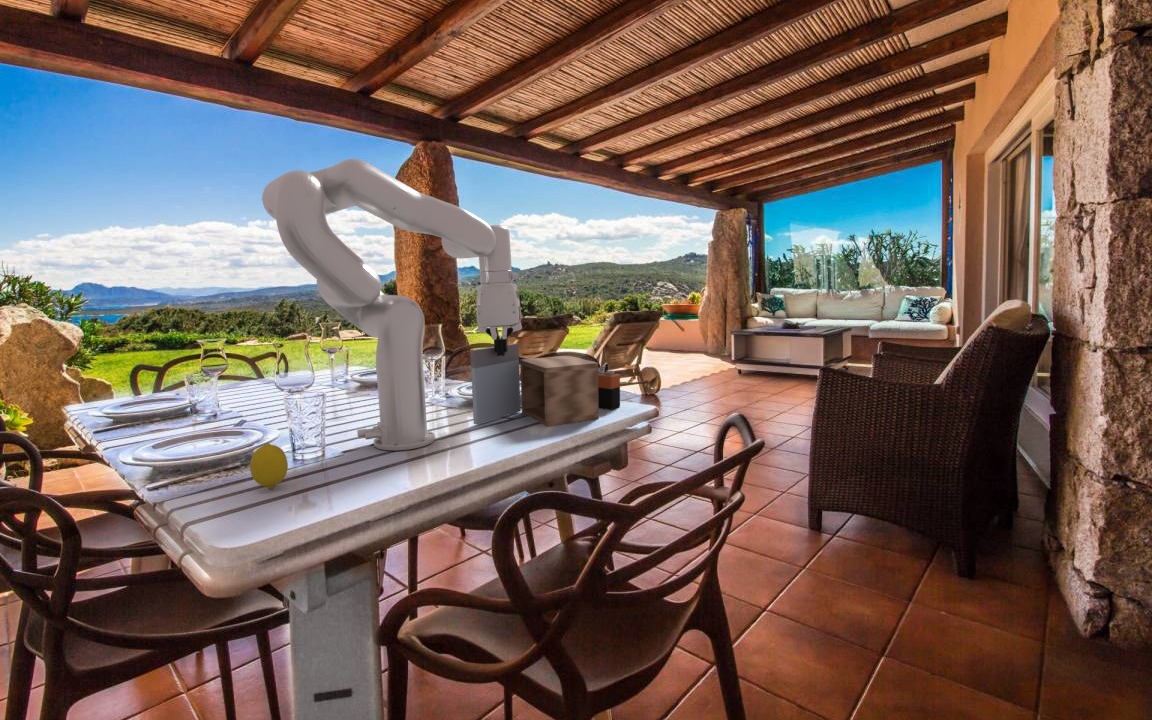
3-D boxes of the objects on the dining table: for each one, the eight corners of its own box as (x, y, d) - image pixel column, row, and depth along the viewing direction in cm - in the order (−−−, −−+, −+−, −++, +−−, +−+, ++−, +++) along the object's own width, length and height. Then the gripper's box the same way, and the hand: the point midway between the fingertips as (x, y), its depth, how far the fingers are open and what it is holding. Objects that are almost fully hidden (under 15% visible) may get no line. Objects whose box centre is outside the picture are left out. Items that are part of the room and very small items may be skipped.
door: (473, 423, 132) (470, 350, 129) (517, 410, 145) (514, 343, 142) (477, 424, 131) (474, 350, 129) (520, 411, 144) (518, 343, 141)
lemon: (250, 497, 90) (245, 450, 89) (255, 485, 95) (250, 441, 94) (288, 491, 92) (284, 445, 91) (290, 480, 97) (286, 436, 96)
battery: (611, 410, 145) (611, 372, 143) (591, 406, 149) (590, 370, 148) (620, 407, 148) (620, 370, 147) (600, 403, 152) (600, 368, 151)
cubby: (547, 426, 130) (545, 368, 128) (521, 412, 144) (520, 359, 142) (598, 418, 136) (597, 362, 134) (569, 406, 150) (568, 355, 148)
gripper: (529, 277, 134) (534, 351, 137) (469, 279, 135) (475, 353, 138) (525, 278, 126) (529, 356, 129) (461, 280, 127) (467, 358, 130)
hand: (501, 354), depth 134 cm, fingers closed
